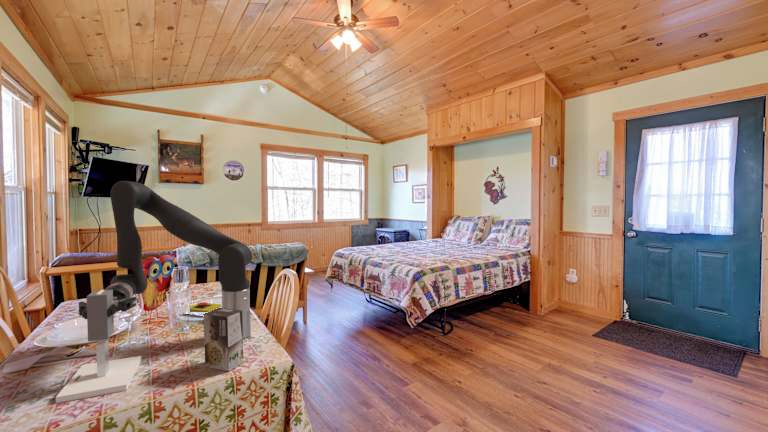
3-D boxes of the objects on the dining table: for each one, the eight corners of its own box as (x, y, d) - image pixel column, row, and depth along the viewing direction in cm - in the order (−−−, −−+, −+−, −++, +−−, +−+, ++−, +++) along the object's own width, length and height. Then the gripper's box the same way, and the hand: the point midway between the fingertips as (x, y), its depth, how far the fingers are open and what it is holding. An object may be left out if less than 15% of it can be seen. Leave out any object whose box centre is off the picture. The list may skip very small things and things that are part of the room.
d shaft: (101, 372, 96) (100, 340, 95) (109, 370, 97) (108, 339, 96) (97, 377, 93) (96, 344, 93) (105, 376, 94) (104, 343, 93)
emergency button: (198, 299, 157) (226, 302, 153) (199, 308, 157) (226, 312, 153) (181, 305, 148) (210, 308, 144) (182, 315, 148) (211, 319, 144)
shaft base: (83, 369, 100) (82, 364, 100) (141, 360, 106) (141, 355, 106) (55, 403, 84) (55, 396, 84) (126, 390, 90) (126, 384, 90)
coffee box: (244, 362, 105) (243, 310, 105) (228, 372, 99) (227, 316, 99) (220, 357, 108) (219, 306, 108) (203, 367, 102) (202, 313, 101)
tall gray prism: (107, 339, 93) (106, 293, 92) (88, 341, 91) (86, 295, 90) (113, 331, 98) (112, 288, 97) (95, 333, 96) (93, 289, 95)
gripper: (86, 287, 104) (61, 303, 88) (143, 282, 110) (129, 297, 94) (86, 311, 104) (62, 332, 89) (143, 306, 110) (130, 324, 95)
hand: (97, 314), depth 92 cm, fingers closed on tall gray prism, 4 cm apart
